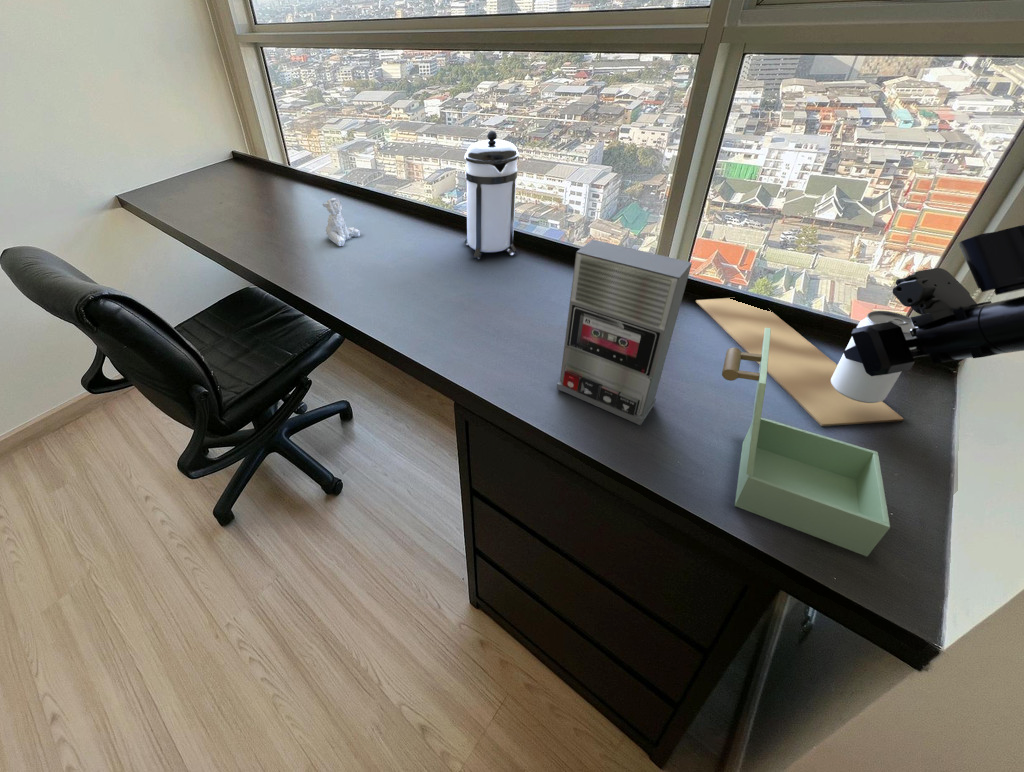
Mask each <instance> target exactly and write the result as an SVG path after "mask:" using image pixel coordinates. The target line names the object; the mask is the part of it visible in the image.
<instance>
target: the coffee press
mask: <svg viewBox="0 0 1024 772" xmlns="http://www.w3.org/2000/svg"><path fill="white" fill-rule="evenodd" d="M486 137H487V139H485V140H479V141H477V142H474V143H472V144H471V145H470V146H469V147H468V148H467V151H466V152H465V154H464V160H465V161H466V163H465V164H466V168H465V180H466V239H465V240H464V245H465V246H467V247H468V246H469V247H470V248H471V249H472V250H475V251H474V253H473V260H478V261H480V260H481V259H482V256H483V254H484V253H498V252H503V251H506V252H507V253H508V255H510V256H514V255H515V254H517V252H518V251H517V248H516V247H515V245H514V231H515V229H514V228H515V212H516V211H515V209H516V190H517V188H516V187H517V178H518V167H517V166H518V159H519V157H520V152H519V151H518V148H517V146H516V145H515V144H514V143H512V142H510V141H507V140H503V139H497V138H498V133H497V132H496V131H494V130H489V132H488V133H487V135H486ZM510 248H511V249H510Z"/></svg>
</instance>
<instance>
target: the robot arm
mask: <svg viewBox="0 0 1024 772" xmlns="http://www.w3.org/2000/svg"><path fill="white" fill-rule="evenodd" d="M957 244H958V247H959V248H960V251H961V253H962V255H963V258H964V260H965V262H966V264H967V266H968V269H969V271H970V273H971V276H972V279H973V280H974V283H975V284H976V285H975V286H976V287H977V289H980V292H982V293H984V292H989V291H993V292H994V294H995V296H999V295H1006V294H1011V293H1015V292H1021V291H1024V224H1021V225H1016V226H1013V227H1008V228H1005V229H1001V230H997V231H992V232H984V233H980V234H977V235H974V236H971V237H968V238H966V239H963V240H961V241H959V242H958V243H957ZM892 295H893V296H894V297H895V298H896V299H897V300H898V301H899V302H900V303H901V305H902V306H904V307H907V308H911V309H912V311H914V312H915V313H917V314H919V315H915V316H910V318H911V320H912V322H913V325H914V326H915V327H918V328H913V329H910V333H911V335H912V337H915V336H916V338H915V339H910V340H906V338H905V336H904V334H903V331H902V329H901V327H900V326H898V325H896V324H894V323H892V322H885V323H880V324H874V325H868V326H864V327H859V328H857V327H855V328H853V329H852V331H851V334H850V335H851V337H853V340H854V342H855V346H853V347H851V348H849V349H847V350H845V349H844V350H843V353H844V355H845V358H846V359H849V360H852V361H856V362H859V363H863V366H864V369H865V371H866V373H867V374H869V375H870V376H878V375H886V374H891V373H897V372H901V373H902V372H906V371H910V370H911V369H912V368H913V366H914V364H915V362H916V361H915V359H914V358H919V357H923V358H929V359H930V360H931V362H932V364H933V365H934V364H941V363H947V362H951V361H957V360H965V359H970V358H972V359H979V358H986V357H991V356H996V355H1001V354H1009V353H1016V352H1023V351H1024V295H1022V296H1017V297H1013V298H1009V299H1008V298H1007V299H1004V300H999V301H994V302H992V300H990V301H983V302H979V303H977V301H975V299H974V298H973V297H972V295H971V294H970V291H969V290H967V288H966V287H964V286H963V284H961V283H960V281H958V280H957V279H956V278H955V277H954V276H953V275H952V274H951V273H950V271H948V270H946V269H944V268H942V267H935V268H928V269H923V270H922V269H921V270H917V271H915V272H913V273H912V274H910V275H908V276H906V277H902V278H897V279H896V280H895V286H894V287H893V288H892ZM912 347H916V349H912V350H910V348H912Z"/></svg>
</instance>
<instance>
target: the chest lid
mask: <svg viewBox="0 0 1024 772" xmlns="http://www.w3.org/2000/svg"><path fill="white" fill-rule="evenodd" d="M770 334H771V328H765V332H764V339H763V346H762V353H761V354H754V353H747V352H746V351H742V350H741V349H739V348H738V347H729V348H728V349H727V350H726V352H725V357H724V362H723V366H722V372H721V376H722V378H723V379H725V380H726V381H730V382H731V381H735V380H737V379H741V380H743V379H744V380H749V381H756V390H755V396H754V404H753V410H752V418H751V419H752V420H751V423H752V427H751V436H750V445H749V453H748V462H747V471H746V474H747V475H751V476H752V474H753V467H754V460H755V454H756V447H757V441H758V434H759V427H760V421H761V417H762V413H763V406H764V400H765V394H766V388H767V387H766V386H767V379H768V378H767V377H768V373H767V368H768V356H769V345H770ZM741 361H750V362H756V361H757V362H760V365H759V366H758V367H759V368H758V372H754V371H748V370H741V369H740V368H741V367H740V366H741V363H742V362H741ZM757 362H756V363H757Z"/></svg>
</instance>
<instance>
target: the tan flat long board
mask: <svg viewBox="0 0 1024 772" xmlns="http://www.w3.org/2000/svg"><path fill="white" fill-rule="evenodd" d="M730 298H731V297H723V298H707V299H696V300H695V303H696V304H697V305H698V306H699V307H700V308H701V309H702V310H703V311H704V312H705V313H706V314H707V315H708V316H709V317H710V318H711V319H712V320H713V321H714V322H715V323H717V325H718V326H719V327H720V328H721V329H722V330H723V331H725V333H726V334H727V335H728V336H729V337H731V339H733V341H734V342H736V344H737V345H738V346H740V348H742V350H744V352H745V353H754V354H761V353H762V346H763V339H764V332H765V328H771V334H770V345H769V356H768V368H767V375H769V376H770V377H771V378H772V379H773V380H774V381H775V383H777V385H779V386H780V387H781V388H782V389H783V390H784V391H785V392H786V393H787V394H788V395H789V396H790V397H791V398H792V399H793V400H794V401H795V402H796V403H797V404H798V405H799V406H800V407H801V408H802V409H803V410H804V411H805V412H806V413H807V414H808V415H809V416H810V417H811V418H812V419H813V420H814V421H815V422H817V424H818V425H820V427H831V426H833V427H834V426H849V425H861V424H876V423H890V422H902V421H903V422H904V420H905V418H903V417H902V416H901V415H900V414H899V413H898V412H896V411H895V410H894V409H893V408H891V407H890V406H889V405H887V403H885V402H884V400H883V401H880V402H876V403H865V402H859V401H856V400H853V399H850V398H848V397H846V396H844V395H842V394H840V393H839V392H838V391H836V390H835V388H834V387H833V385H832V383H831V378H832V375H833V373H834V371H835V369H836V367H837V365H838V363H836V362H835V361H834V360H832V359H831V358H829V357H828V356H827V355H826V354H825V353H823V352H822V351H821V350H820V349H819V348H817V347H816V346H815V345H814V344H812V343H811V341H809V340H807V339H806V338H805V337H804V336H802V334H800V333H799V332H798V331H796V330H795V329H794V328H793V327H792V326H790V325H789V324H788V323H786V322H785V321H784V320H783V319H781V318H780V317H779V316H778V315H777V314H776V313H774V312H773V311H772V310H770V311H767V310H763V309H760V308H757V307H754V306H751V305H748V304H745V303H742V302H738V301H736V300H733V299H730ZM771 311H772V312H771ZM755 362H756V363H757V364H758V365H759V366H760V362H757V361H755Z"/></svg>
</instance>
